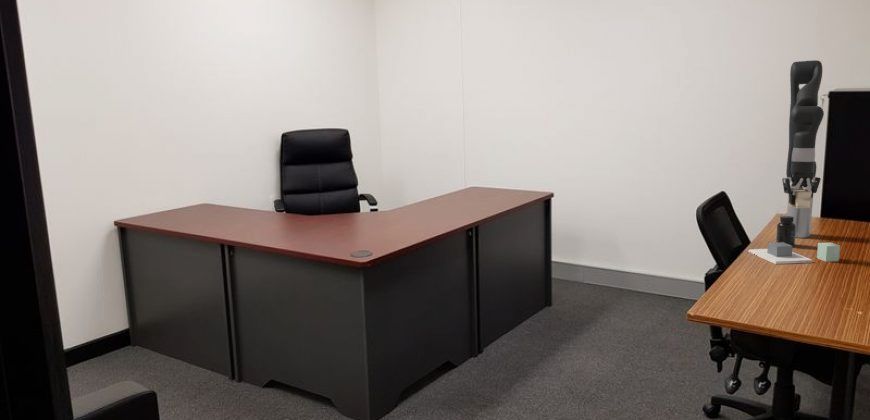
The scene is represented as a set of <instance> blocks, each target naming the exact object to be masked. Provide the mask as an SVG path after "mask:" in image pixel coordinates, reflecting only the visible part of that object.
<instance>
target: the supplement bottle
mask: <svg viewBox="0 0 870 420" xmlns="http://www.w3.org/2000/svg"><path fill="white" fill-rule="evenodd" d="M793 222H794V217H792V216H786V215H781V216H780V217H779V222H778V223H777V225H776V239H775V243H778V242H784V243H786V244H789V245H791V246H793V247H795V246H796V237H795V235H796V225H795V224H794V223H793Z"/></svg>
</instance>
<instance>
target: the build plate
mask: <svg viewBox="0 0 870 420" xmlns="http://www.w3.org/2000/svg"><path fill="white" fill-rule="evenodd" d="M793 247H794V246H791V245H789V244H786V243H784V242H778V243H776V242H768V243H767V248H754V249H752V248H751V249H748V253H750V252H751V253H750V254H752V255H754V254H755V255H754V256H756V255H757V256H756V257H759V258H761V259H763V260H766V262H767V261H768V262H770V263H772V264H775V265H783V264H784V265H785V264H787V265H789V264H790V265H791V264H808V263H809V264H810V263H813V259H811V258H808V257H806V256H804V255H801V254H798V253H796V252H794V251H793V249H794V248H793Z"/></svg>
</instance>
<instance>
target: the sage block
mask: <svg viewBox="0 0 870 420" xmlns="http://www.w3.org/2000/svg"><path fill="white" fill-rule="evenodd" d="M816 251H817V253H816V259H817V258H818V260H820V261H823V262H825V263H826V262H827V263H829V262H839V261H840V252H841V245H839V244H836V243H834V242H832V241H831V242H818V243H817V250H816Z"/></svg>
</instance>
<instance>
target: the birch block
mask: <svg viewBox="0 0 870 420" xmlns="http://www.w3.org/2000/svg"><path fill="white" fill-rule="evenodd" d="M795 195H796V199H795V205H790V203H789V206H791V207H795V208H810V202H811V192H808V191H804V190H797V192H796V194H795Z"/></svg>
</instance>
